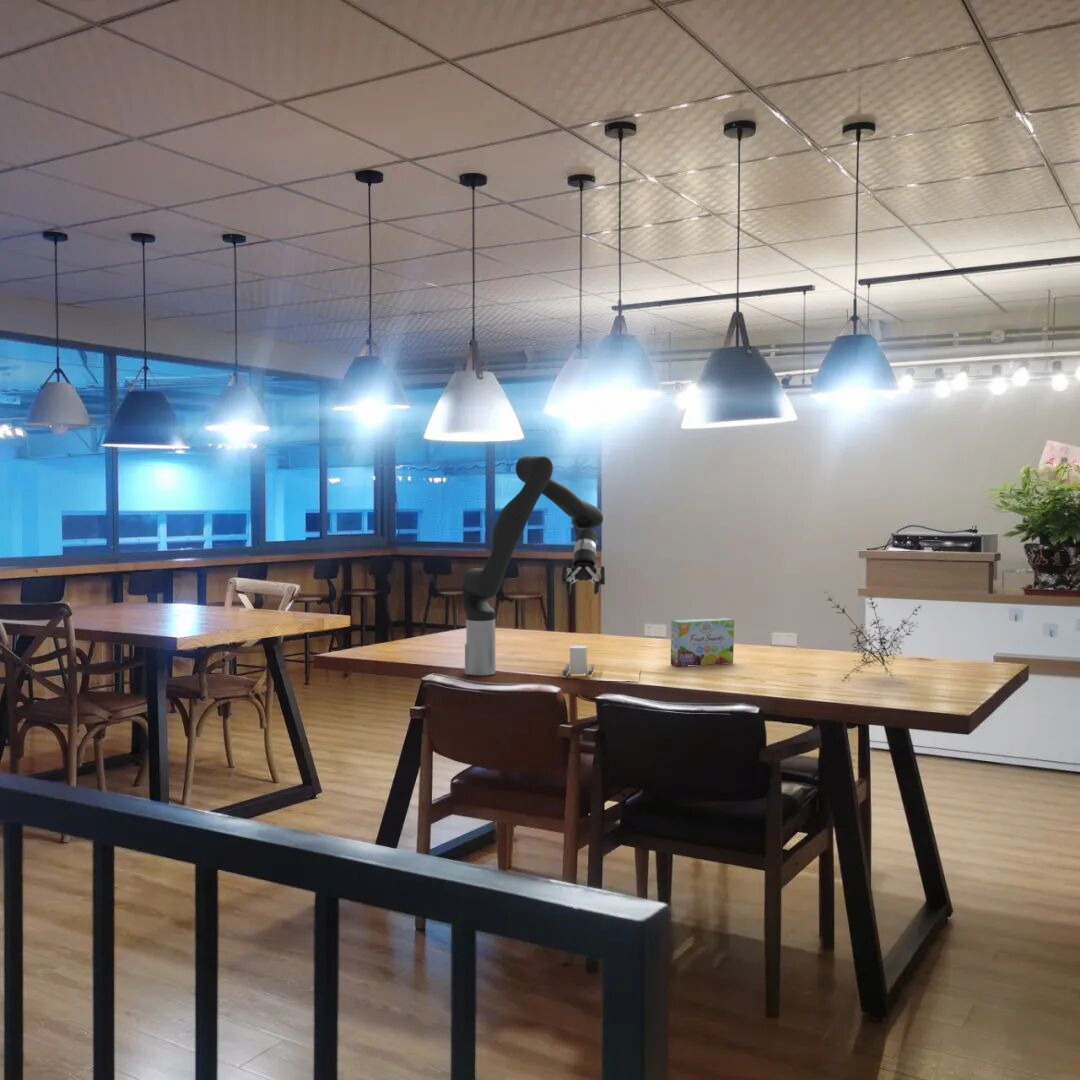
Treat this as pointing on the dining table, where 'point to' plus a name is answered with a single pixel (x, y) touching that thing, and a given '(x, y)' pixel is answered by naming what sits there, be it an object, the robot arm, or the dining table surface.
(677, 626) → the snack box
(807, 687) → the dining table surface
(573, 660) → the block
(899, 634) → the dried plant
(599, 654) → the dining table surface
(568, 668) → the brackets
